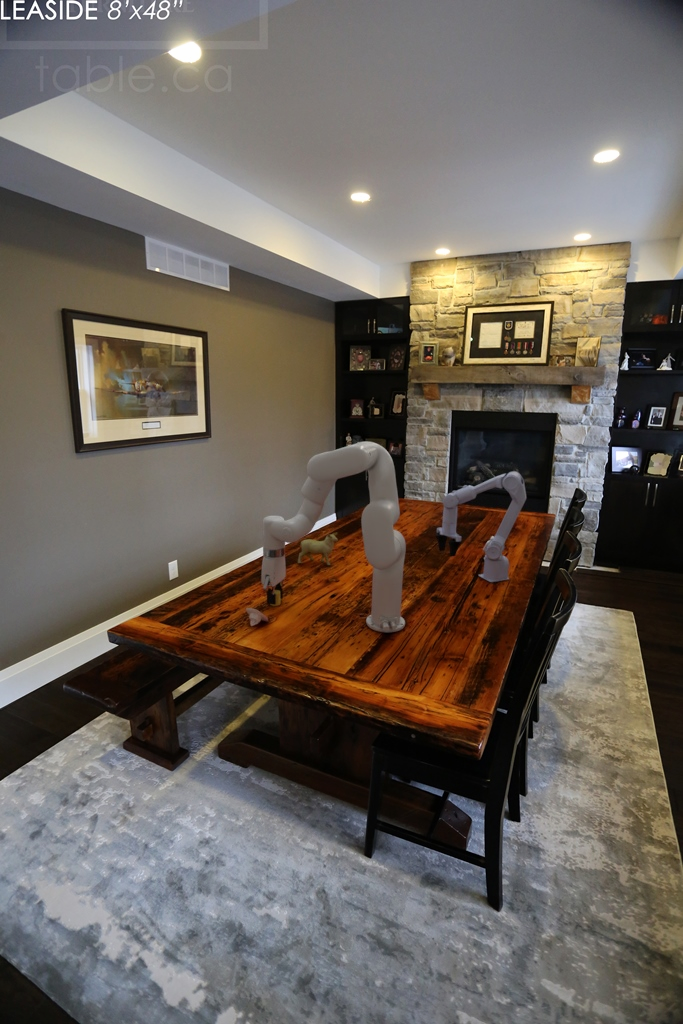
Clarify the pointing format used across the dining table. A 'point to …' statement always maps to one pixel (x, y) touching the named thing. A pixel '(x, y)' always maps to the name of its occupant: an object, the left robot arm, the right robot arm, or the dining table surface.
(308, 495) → the left robot arm
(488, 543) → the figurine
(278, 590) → the tin
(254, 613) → the seashell
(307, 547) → the toy
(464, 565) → the dining table surface
